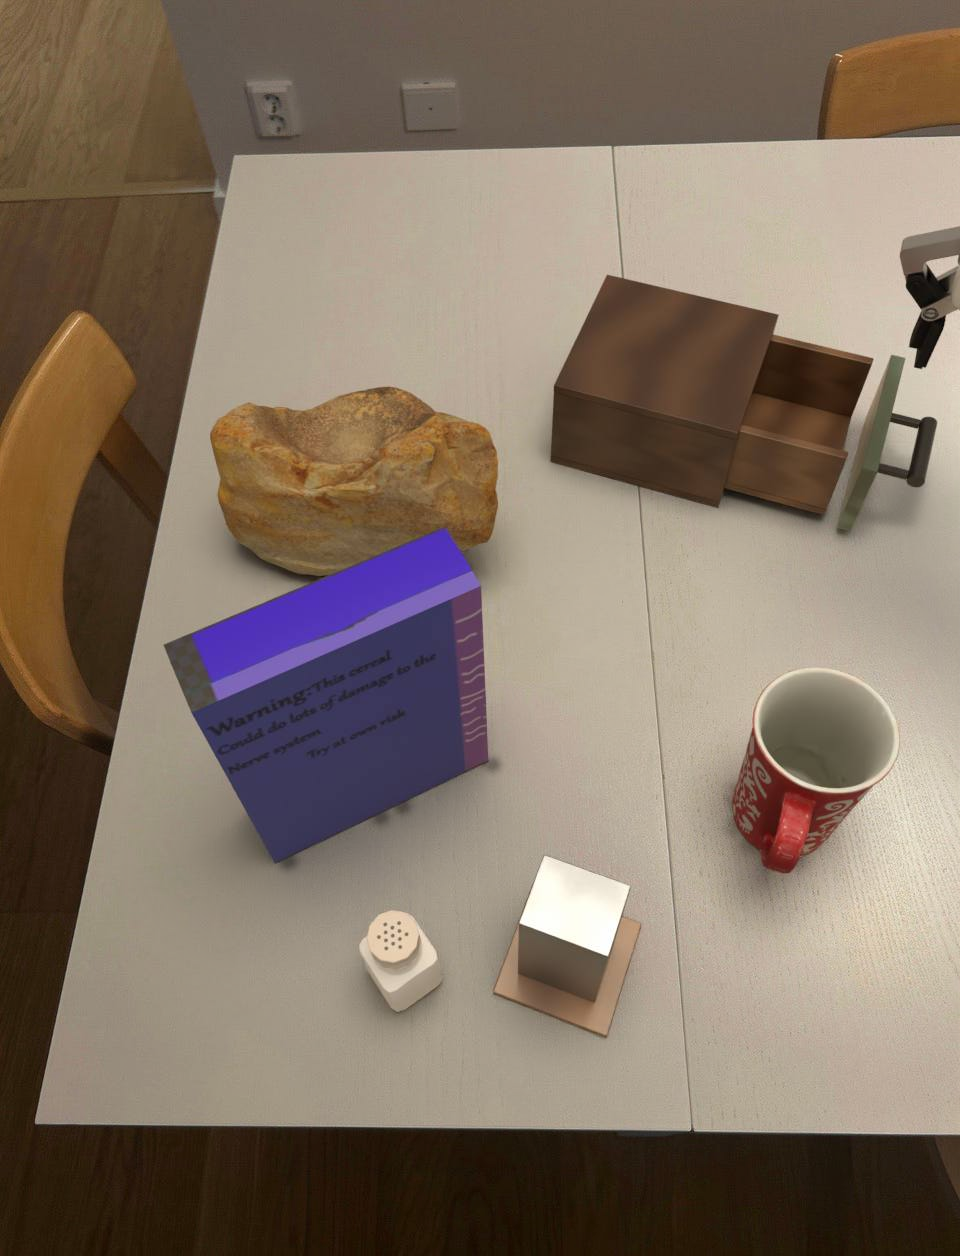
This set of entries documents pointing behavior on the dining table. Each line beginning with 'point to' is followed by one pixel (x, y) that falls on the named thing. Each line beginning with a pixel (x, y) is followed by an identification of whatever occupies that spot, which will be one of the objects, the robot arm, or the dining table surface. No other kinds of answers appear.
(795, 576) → the dining table surface
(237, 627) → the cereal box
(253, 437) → the rough brown rock
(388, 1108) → the dining table surface
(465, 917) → the dining table surface
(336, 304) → the dining table surface
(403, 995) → the pepper shaker
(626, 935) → the plate
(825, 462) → the drawer
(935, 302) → the robot arm
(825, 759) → the mug
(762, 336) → the cabinet
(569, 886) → the metal block
